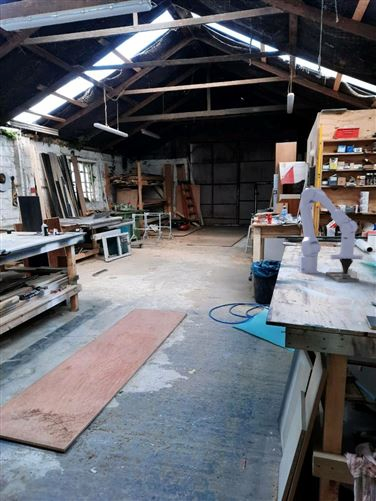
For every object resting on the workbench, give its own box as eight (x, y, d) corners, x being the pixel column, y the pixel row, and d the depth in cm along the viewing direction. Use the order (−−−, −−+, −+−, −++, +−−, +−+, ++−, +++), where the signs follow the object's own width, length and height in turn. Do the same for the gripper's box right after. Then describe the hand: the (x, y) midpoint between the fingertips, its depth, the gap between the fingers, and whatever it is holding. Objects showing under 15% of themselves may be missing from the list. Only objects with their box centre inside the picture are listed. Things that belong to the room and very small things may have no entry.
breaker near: (352, 277, 151) (353, 272, 151) (350, 276, 153) (350, 271, 153) (356, 277, 151) (357, 272, 151) (354, 276, 153) (355, 271, 153)
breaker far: (342, 272, 162) (342, 266, 161) (340, 271, 164) (340, 265, 164) (346, 272, 162) (346, 266, 161) (344, 271, 164) (344, 265, 164)
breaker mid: (347, 275, 156) (348, 269, 156) (345, 273, 159) (346, 268, 158) (352, 275, 156) (352, 269, 156) (349, 273, 159) (350, 268, 158)
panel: (337, 281, 151) (337, 278, 151) (325, 274, 165) (326, 271, 165) (359, 281, 151) (359, 278, 151) (345, 274, 165) (345, 271, 164)
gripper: (335, 247, 151) (333, 275, 154) (366, 247, 151) (364, 275, 153) (329, 245, 158) (327, 272, 161) (359, 245, 158) (357, 272, 160)
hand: (345, 273), depth 157 cm, fingers closed
